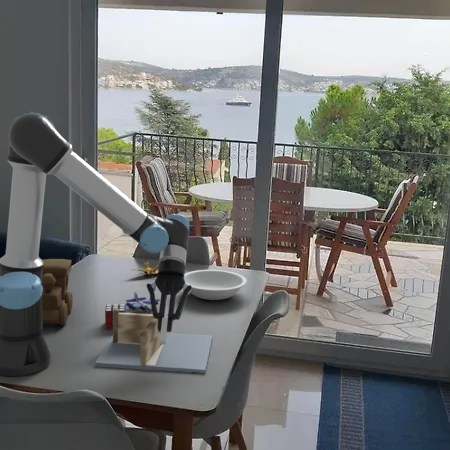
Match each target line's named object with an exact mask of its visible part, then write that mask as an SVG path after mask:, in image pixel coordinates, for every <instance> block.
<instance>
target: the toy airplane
mask: <svg viewBox="0 0 450 450" xmlns="http://www.w3.org/2000/svg"><path fill="white" fill-rule="evenodd" d="M133 293H134V295H133V297H134V298H131V299H130V298H129V299H125V302H126V303H125V305H126V308H128V309H130V310H133V311H134V310H135V309H136V308H139V310H141V311H144V312H147V311H148V312H147V314H151V313H150V312H152V308H151V300H150V299H148V300H147V298H146V297H145V296H144V297H139V296H138V294H137V292H136V291H133ZM155 300H156V306H157V305H159V302H160V300H161V299H159V298H155Z"/></svg>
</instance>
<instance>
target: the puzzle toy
mask: <svg viewBox="0 0 450 450" xmlns="http://www.w3.org/2000/svg"><path fill="white" fill-rule="evenodd" d="M126 308H127V307H126V303H123V304H118V303H116V304H114V303H113V304H111V303H110V304H109V303H108V304H105V309H104V311H105V312H104V313H105V315H104V317H105V318H104V325H105V326H104V327H105V330H113V309H119V313H127V311H126V310H127V309H126Z"/></svg>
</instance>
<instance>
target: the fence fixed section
mask: <svg viewBox="0 0 450 450" xmlns="http://www.w3.org/2000/svg"><path fill="white" fill-rule="evenodd" d="M157 313H159V310H157ZM153 318H154V317H153V314H152V313H150V314H148V313H135V312H134V313H133V312H126V313H119V309H113V329H112V335H113V342H128V343H141V336H140V333H141V332H142V331H143V330H144V329H145V328H146V326H147V325H148V324H149V323H150V322H151V321H152V319H153ZM160 345H161V343H160Z"/></svg>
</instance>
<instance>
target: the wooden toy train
mask: <svg viewBox="0 0 450 450" xmlns="http://www.w3.org/2000/svg"><path fill="white" fill-rule="evenodd" d="M41 260H42V261H43V274H42V289H43V290H42V320H43V324H59V325H60V326H62V327H63V326H65V325H66V324H67V322H68V316H69V315H68V314H70V313H71V312H72V310H73V293H72V292H71V291H68V288H69V280H70V279H69V275H70V273H71V271H72V259H65V258H48V259H47V258H45V259H41Z"/></svg>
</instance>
